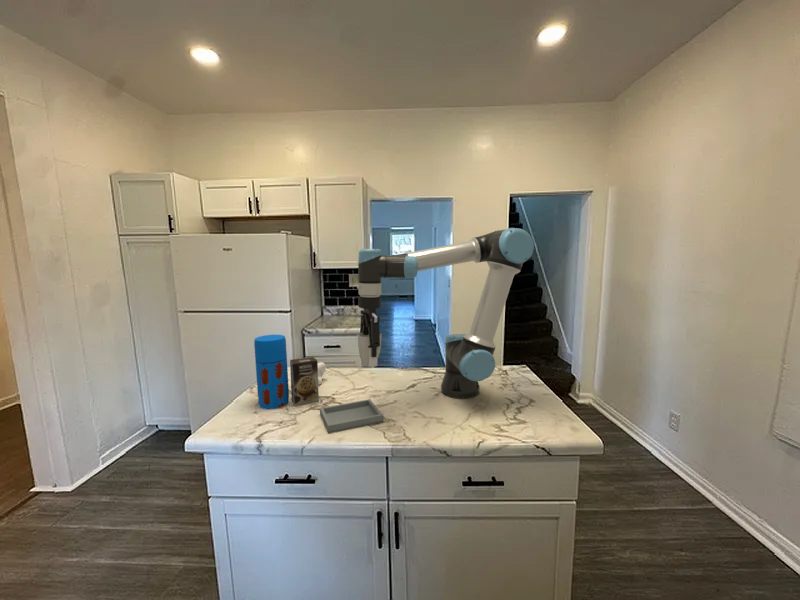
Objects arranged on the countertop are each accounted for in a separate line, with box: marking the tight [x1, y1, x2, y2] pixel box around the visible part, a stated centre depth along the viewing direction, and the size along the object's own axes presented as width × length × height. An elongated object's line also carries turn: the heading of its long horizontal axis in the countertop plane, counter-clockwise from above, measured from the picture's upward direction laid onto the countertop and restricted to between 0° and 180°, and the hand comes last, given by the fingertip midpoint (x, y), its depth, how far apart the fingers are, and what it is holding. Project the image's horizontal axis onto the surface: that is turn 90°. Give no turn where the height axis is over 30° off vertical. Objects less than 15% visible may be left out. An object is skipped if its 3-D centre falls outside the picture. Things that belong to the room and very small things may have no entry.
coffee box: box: [289, 356, 320, 407], centre depth 132 cm, size 9×6×16 cm
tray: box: [319, 398, 384, 434], centre depth 119 cm, size 18×14×2 cm
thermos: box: [253, 334, 290, 410], centre depth 130 cm, size 11×11×25 cm
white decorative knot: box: [317, 361, 327, 386], centre depth 152 cm, size 11×12×9 cm
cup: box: [357, 332, 383, 367], centre depth 120 cm, size 8×8×10 cm
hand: (369, 362), depth 120 cm, fingers closed on cup, 8 cm apart
